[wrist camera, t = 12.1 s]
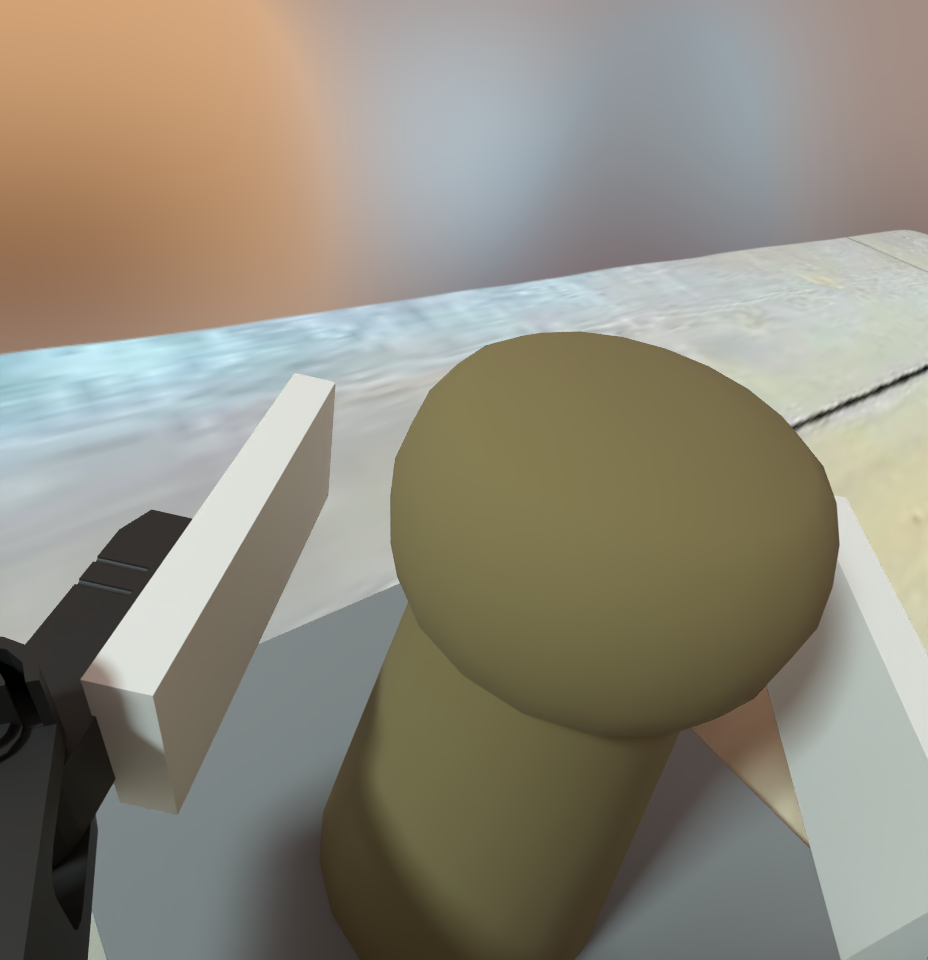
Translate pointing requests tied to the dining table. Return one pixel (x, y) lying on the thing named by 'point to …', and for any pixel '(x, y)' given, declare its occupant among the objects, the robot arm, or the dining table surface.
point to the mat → (298, 825)
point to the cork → (562, 634)
